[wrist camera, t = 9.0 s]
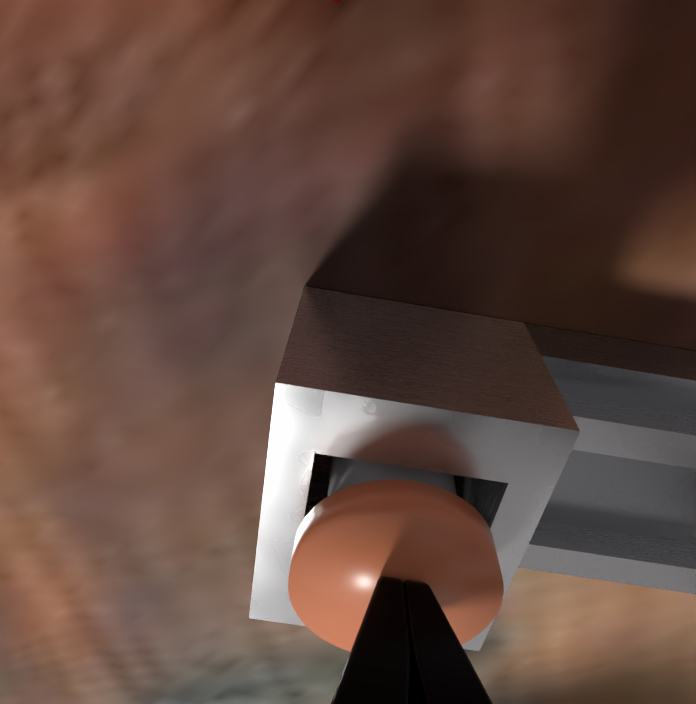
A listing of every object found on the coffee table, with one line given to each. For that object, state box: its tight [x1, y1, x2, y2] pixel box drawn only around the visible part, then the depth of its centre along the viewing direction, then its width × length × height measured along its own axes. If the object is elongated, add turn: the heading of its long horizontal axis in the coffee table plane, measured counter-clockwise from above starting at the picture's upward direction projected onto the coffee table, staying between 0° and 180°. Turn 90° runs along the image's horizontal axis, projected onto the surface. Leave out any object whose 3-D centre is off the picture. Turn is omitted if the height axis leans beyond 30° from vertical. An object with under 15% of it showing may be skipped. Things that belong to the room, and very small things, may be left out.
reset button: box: [288, 456, 504, 652], centre depth 11 cm, size 4×4×5 cm
